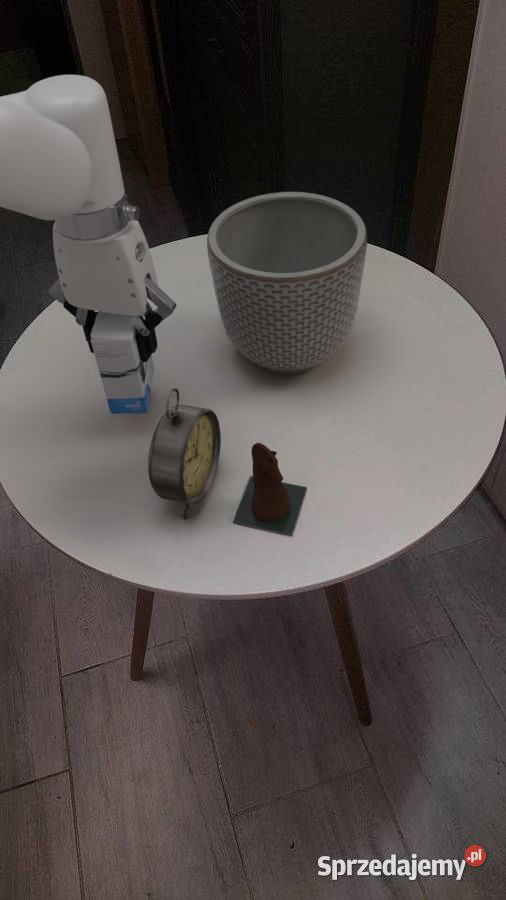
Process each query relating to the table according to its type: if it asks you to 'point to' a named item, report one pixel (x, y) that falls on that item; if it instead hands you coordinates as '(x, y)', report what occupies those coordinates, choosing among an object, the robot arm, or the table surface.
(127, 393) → the ink box
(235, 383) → the table surface
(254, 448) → the chess piece
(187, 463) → the alarm clock
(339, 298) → the planter
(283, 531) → the slate coaster
